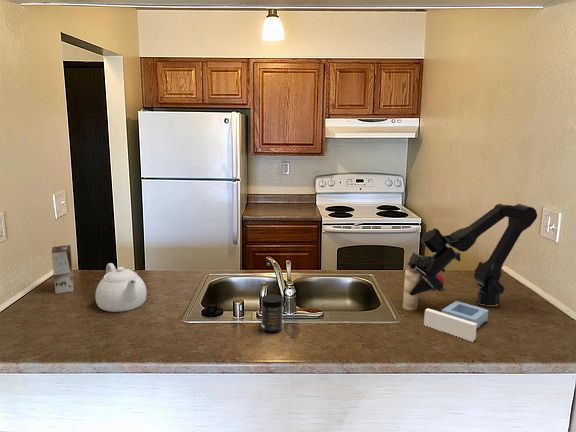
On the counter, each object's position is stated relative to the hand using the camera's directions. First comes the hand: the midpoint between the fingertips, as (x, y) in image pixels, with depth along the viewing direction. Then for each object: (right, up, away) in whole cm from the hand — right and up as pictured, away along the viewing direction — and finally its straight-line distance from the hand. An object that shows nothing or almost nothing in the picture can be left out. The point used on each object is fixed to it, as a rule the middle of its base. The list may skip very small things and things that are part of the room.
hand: (407, 291), depth 162 cm
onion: (+17, -3, +22) cm, 28 cm away
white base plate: (+15, -9, -11) cm, 20 cm away
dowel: (+1, -6, +2) cm, 7 cm away
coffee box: (-128, -2, +16) cm, 129 cm away
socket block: (+17, -8, -9) cm, 21 cm away
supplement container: (-47, -9, -16) cm, 51 cm away
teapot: (-101, -5, +3) cm, 102 cm away
